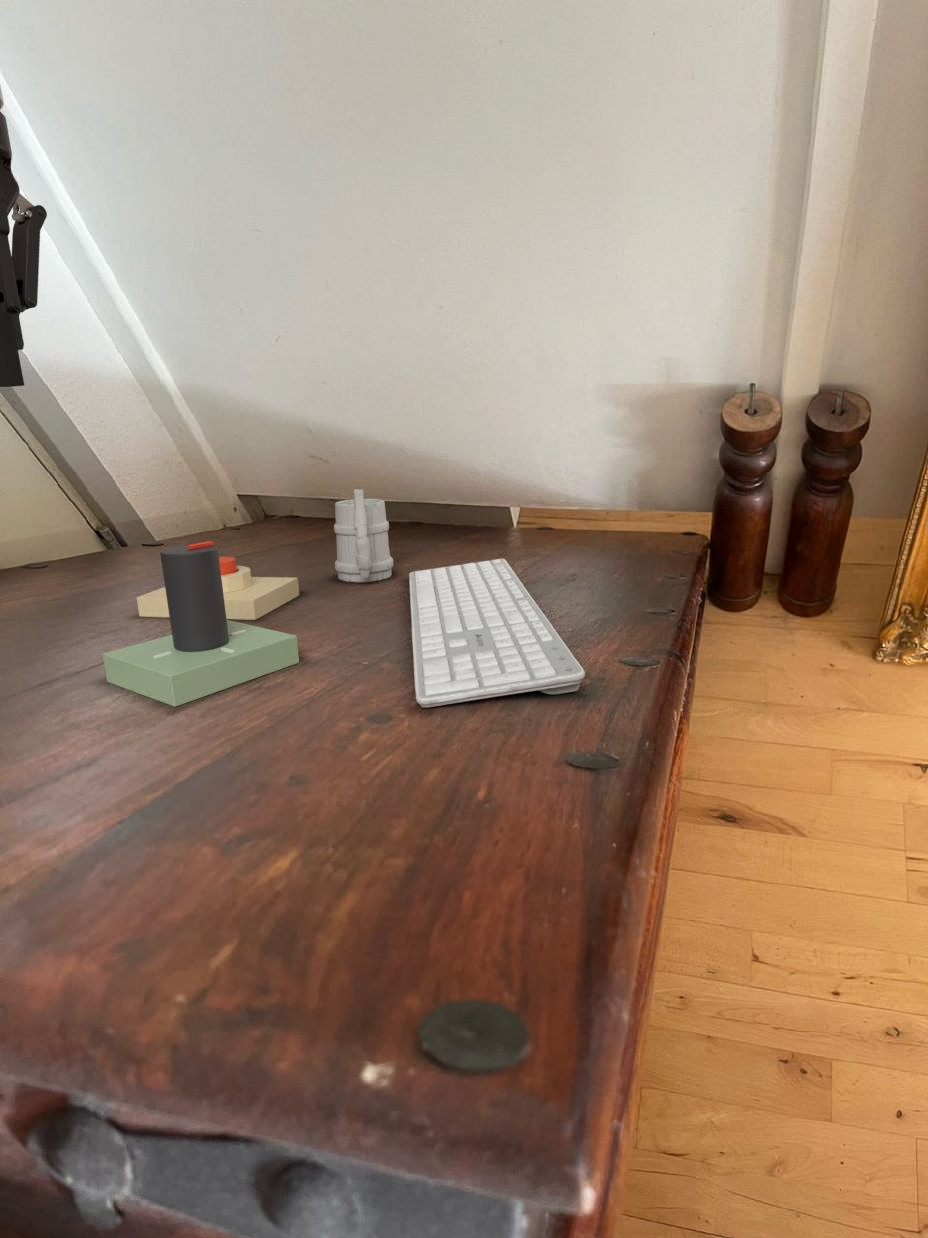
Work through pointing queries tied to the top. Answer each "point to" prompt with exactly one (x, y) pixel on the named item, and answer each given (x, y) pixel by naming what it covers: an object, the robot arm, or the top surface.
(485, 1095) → the top surface
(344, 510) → the mug
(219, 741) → the top surface
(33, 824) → the top surface
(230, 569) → the switch
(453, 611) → the keyboard
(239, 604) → the button base
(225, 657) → the dial panel
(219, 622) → the dial
